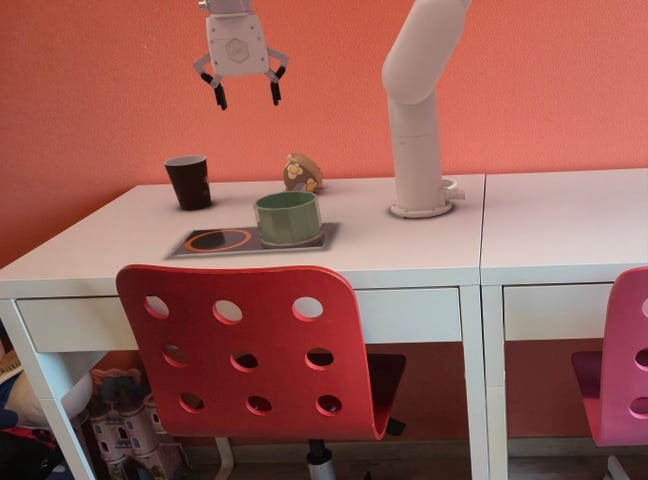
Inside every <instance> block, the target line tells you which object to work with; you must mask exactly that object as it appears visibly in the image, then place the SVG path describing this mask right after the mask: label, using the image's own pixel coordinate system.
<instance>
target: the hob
mask: <svg viewBox="0 0 648 480" xmlns="http://www.w3.org/2000/svg"><path fill="white" fill-rule="evenodd" d="M333 224H334V222H322V226H323V230H322V232H323V233H322V235H321V236H320V237H319V238H317V239H316V240H313V241H311V242H308V243H304V244H300V245H294V246H270V245H267V244H264V243H263V242H262V240H261V238H260V236H259V231H258V226H250V227H249V226H248V227H233V228H214V229H213V228H212V229H197V230H195V229H194V230H192V231H191V232H190V233H189V234H188V235H187V236H186V237H185V238H184V240H182V241H181V243H179V244H178V246H177V247H176V248H174V249H173V250H172V252H171V253H170V254H169V255H168V256H167V257H168V258H170V257H171V256H181V255H199V254H200V255H201V254H217V253H218V254H219V253H235V252H252V251H253V252H254V251H270V250H271V251H273V250H288V249H289V250H291V249H306V248H307V249H308V248H309V249H310V248H323V247H324V244H325V242H326V240H327V238H328V236H329V233H330V231H331V229H332V226H333Z"/></svg>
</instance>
